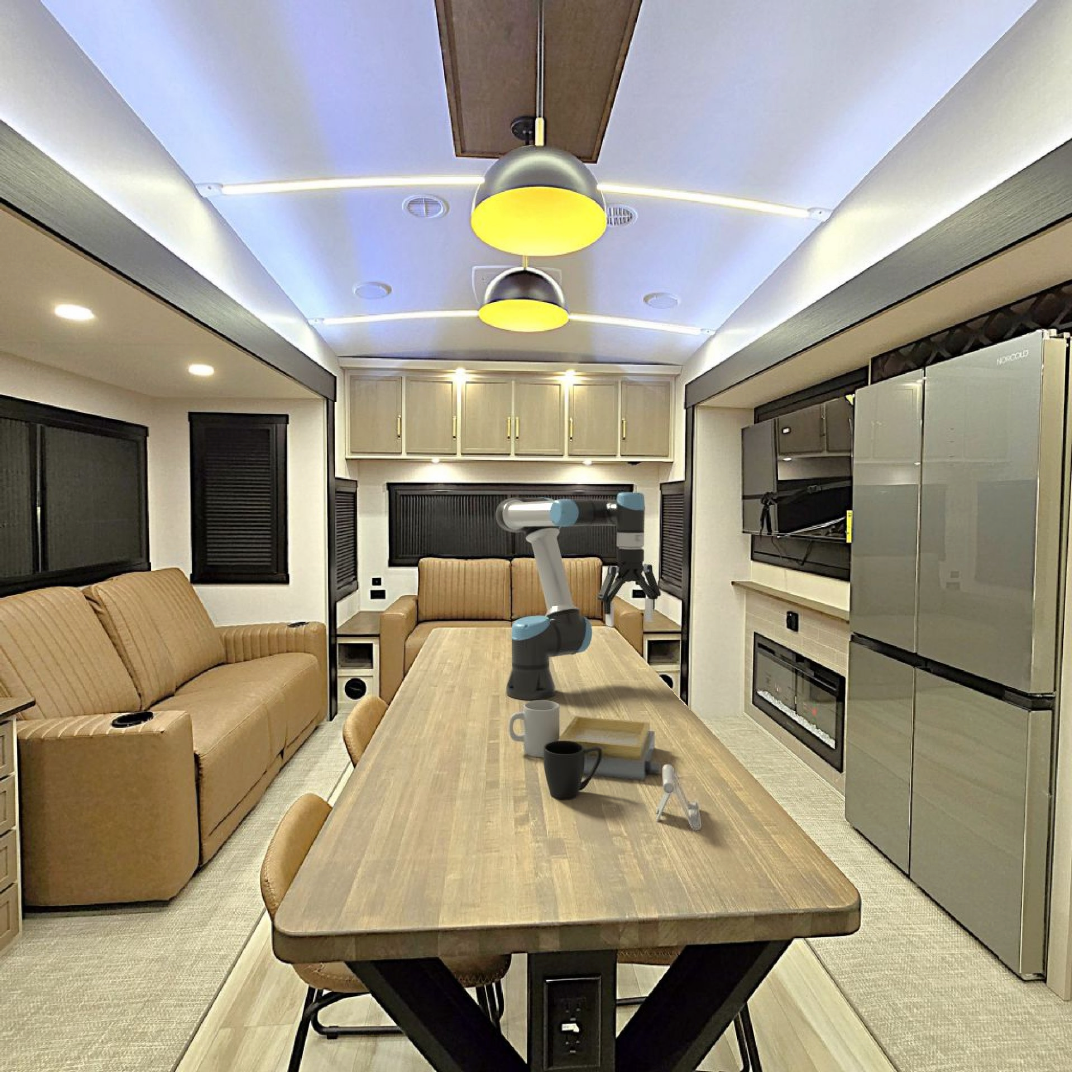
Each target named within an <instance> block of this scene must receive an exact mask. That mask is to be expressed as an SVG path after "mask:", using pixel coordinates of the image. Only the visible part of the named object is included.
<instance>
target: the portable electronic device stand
mask: <svg viewBox="0 0 1072 1072" xmlns="http://www.w3.org/2000/svg"><path fill="white" fill-rule="evenodd" d="M675 770H676V769H674V767H673V766H672V764H664V765H663V766H662V790H663V792H664V793H663V795H662V797H661V800H660V802H659V803H658V806H657V808H656V811H655V813H656V814H657V816H656V818H655V821H656V822H659V820H660V818H661V816H662V814H663V811H664V809H665V808H666V805H667V803H668V801H669V799H670V796H671V795H672V794H673V795H674V794H675V795H676V797H677V799H678V800H679V804H680V805H681V807H682V811H683V813H684V815H685V817H686V819H687V821H688V824H689V825H690V828H691V829H692V830H694V831H698V830H700V829H701V828H702V820H701V813H700V807H699V800H698V797H696V798H695V800H694V802H691V803H690V801H689V800H688V798H687V796H686V794H685V791H684V789H683V787H682V785H681V783H680V780H679V778H678V775H677V773H676V771H675ZM675 782H676V783H675ZM677 786H678V788H677ZM678 789H679V790H678ZM679 791H680V792H679ZM680 793H681V794H680ZM681 795H682V797H681ZM682 798H683V799H684V802H685V804H686V806H685V804H684V802H683V799H682ZM686 807H687V808H686ZM687 809H688V811H687Z"/></svg>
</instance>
